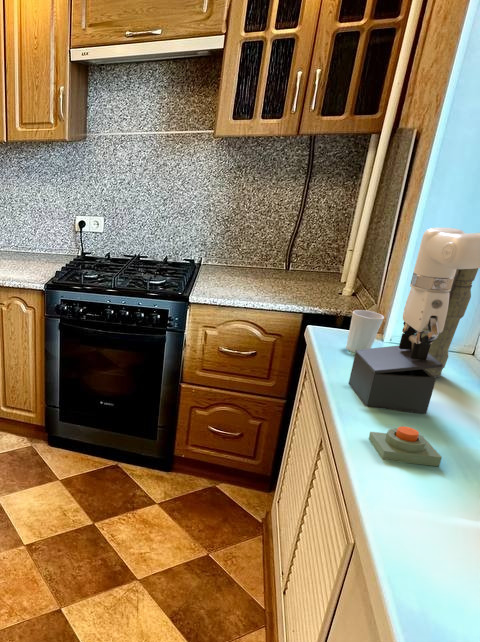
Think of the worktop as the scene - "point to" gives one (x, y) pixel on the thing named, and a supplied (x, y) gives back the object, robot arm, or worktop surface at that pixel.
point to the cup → (363, 329)
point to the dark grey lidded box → (392, 388)
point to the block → (404, 449)
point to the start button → (407, 434)
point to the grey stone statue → (452, 316)
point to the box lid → (395, 359)
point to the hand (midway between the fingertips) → (412, 353)
